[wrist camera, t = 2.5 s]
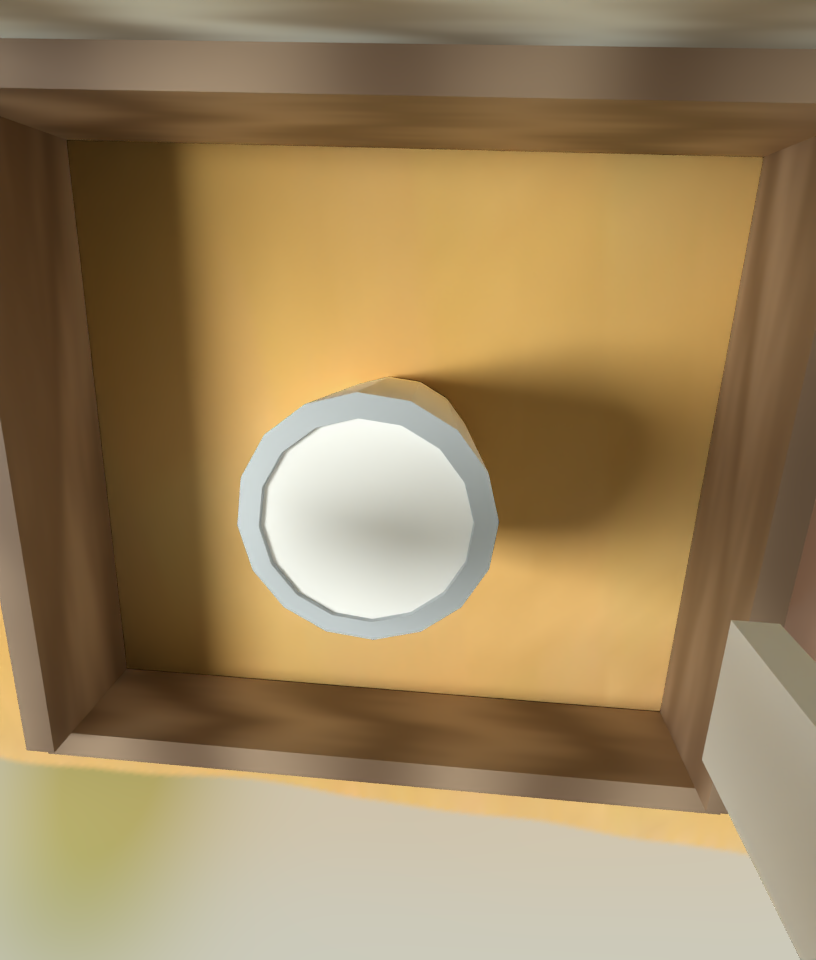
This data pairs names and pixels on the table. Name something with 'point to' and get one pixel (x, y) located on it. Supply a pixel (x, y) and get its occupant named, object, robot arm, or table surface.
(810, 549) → the terracotta saucer
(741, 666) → the robot arm
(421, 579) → the shot glass
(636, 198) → the table surface
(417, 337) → the table surface
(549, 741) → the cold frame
